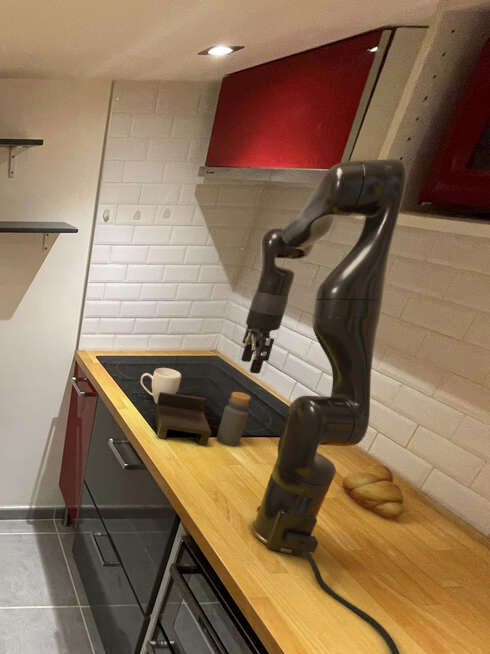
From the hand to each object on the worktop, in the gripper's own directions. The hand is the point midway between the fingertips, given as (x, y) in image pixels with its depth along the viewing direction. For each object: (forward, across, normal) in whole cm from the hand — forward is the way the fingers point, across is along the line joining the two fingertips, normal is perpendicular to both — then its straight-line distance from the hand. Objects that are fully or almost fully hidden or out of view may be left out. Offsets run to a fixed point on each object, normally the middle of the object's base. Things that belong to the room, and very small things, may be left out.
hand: (249, 366), depth 121 cm
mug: (+24, -20, -18) cm, 36 cm away
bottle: (+24, 0, 0) cm, 24 cm away
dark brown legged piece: (+24, -1, -13) cm, 27 cm away
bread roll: (+24, +20, +26) cm, 41 cm away
